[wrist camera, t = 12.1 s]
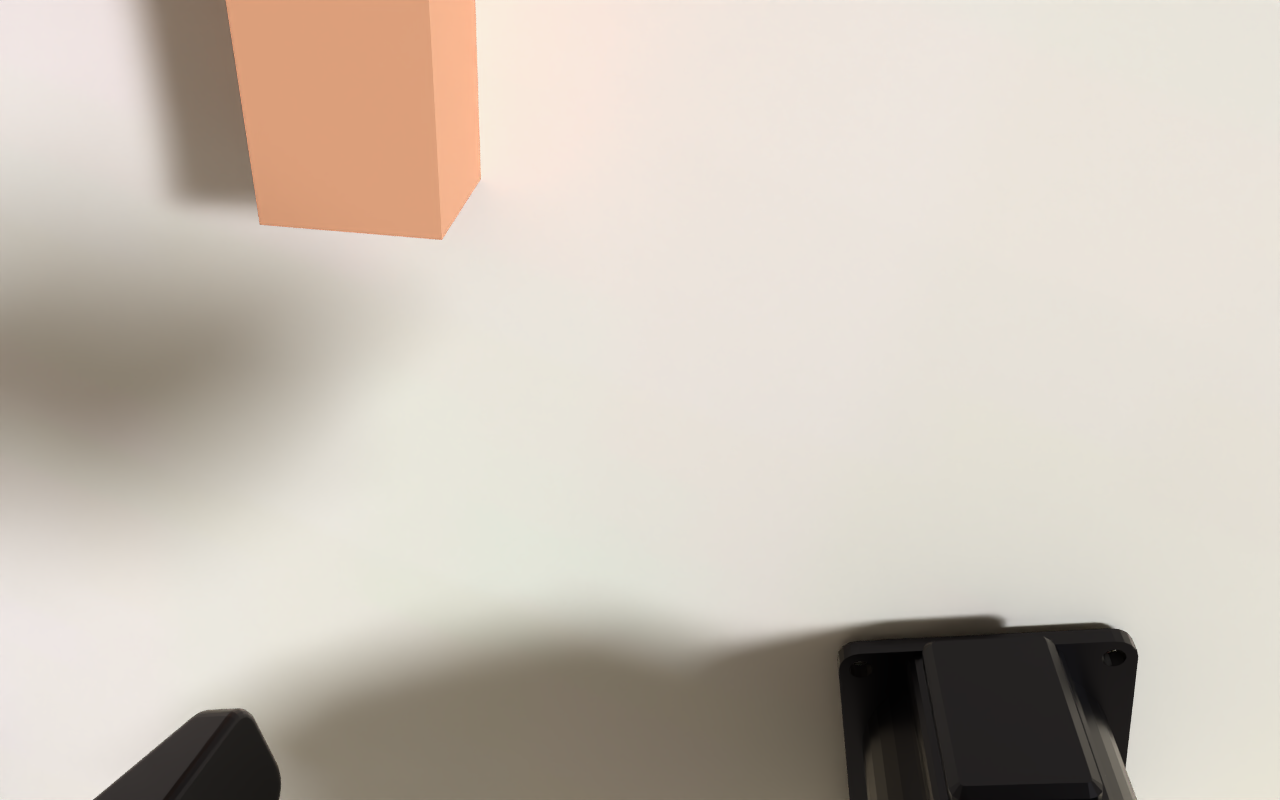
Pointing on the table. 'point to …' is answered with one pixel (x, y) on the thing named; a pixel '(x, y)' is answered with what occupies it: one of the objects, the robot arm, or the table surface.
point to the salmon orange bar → (359, 112)
